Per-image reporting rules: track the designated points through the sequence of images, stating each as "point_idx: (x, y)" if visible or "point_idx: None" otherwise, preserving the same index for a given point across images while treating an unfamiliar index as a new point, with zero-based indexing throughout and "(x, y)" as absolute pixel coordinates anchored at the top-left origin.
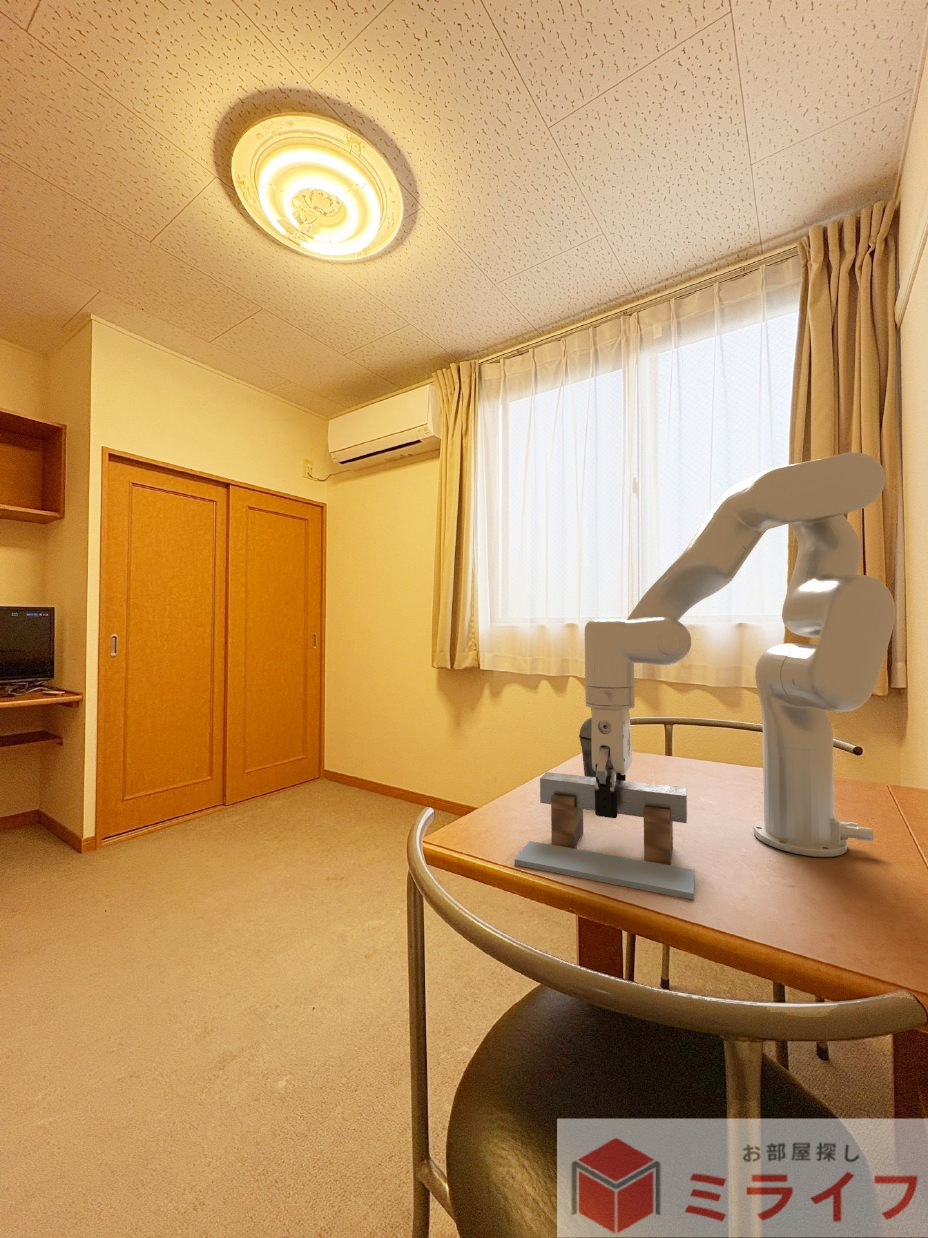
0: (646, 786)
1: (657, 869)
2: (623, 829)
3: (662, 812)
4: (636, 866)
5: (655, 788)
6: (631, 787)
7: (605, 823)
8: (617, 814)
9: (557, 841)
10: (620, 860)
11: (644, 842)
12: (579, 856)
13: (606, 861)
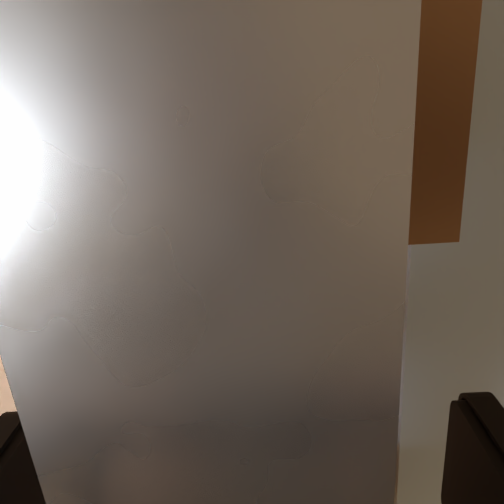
0: (159, 330)
1: (496, 71)
2: None
3: (473, 35)
4: (495, 174)
5: (191, 190)
6: (308, 484)
7: (9, 387)
8: (467, 400)
9: None
10: (452, 253)
11: None
12: None
13: (485, 303)
